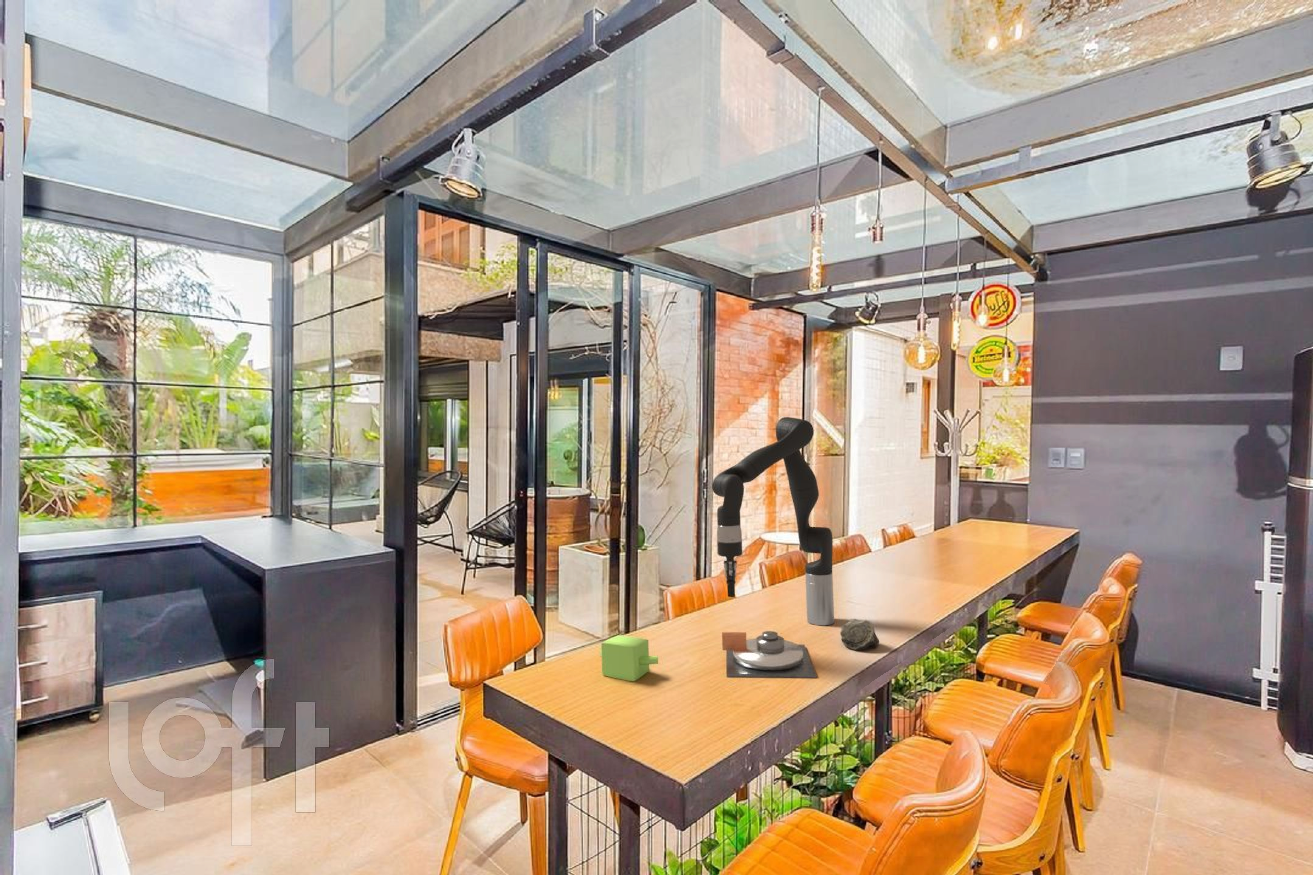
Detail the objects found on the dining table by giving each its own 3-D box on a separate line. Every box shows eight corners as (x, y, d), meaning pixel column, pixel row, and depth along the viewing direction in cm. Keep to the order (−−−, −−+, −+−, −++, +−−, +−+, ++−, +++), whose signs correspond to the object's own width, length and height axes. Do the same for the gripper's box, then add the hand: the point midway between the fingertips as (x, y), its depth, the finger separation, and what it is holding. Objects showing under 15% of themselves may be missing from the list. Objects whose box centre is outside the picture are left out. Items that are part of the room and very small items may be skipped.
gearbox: (666, 672, 165) (665, 638, 165) (648, 685, 157) (647, 649, 157) (614, 662, 175) (613, 630, 175) (594, 674, 166) (593, 640, 166)
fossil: (837, 647, 179) (838, 614, 183) (843, 653, 185) (844, 621, 190) (875, 651, 173) (875, 617, 178) (880, 657, 180) (880, 623, 185)
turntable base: (726, 646, 184) (726, 644, 184) (804, 647, 182) (804, 644, 182) (726, 676, 161) (726, 673, 161) (816, 677, 158) (816, 674, 158)
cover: (756, 644, 176) (755, 629, 176) (783, 644, 174) (782, 629, 175) (757, 653, 168) (756, 637, 168) (785, 654, 167) (785, 638, 167)
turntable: (723, 644, 183) (722, 622, 183) (798, 645, 180) (797, 623, 180) (722, 669, 163) (721, 644, 163) (807, 670, 160) (806, 645, 160)
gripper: (742, 542, 173) (744, 602, 172) (741, 536, 186) (743, 591, 185) (716, 543, 173) (718, 602, 173) (717, 536, 187) (719, 591, 186)
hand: (731, 596), depth 179 cm, fingers closed
